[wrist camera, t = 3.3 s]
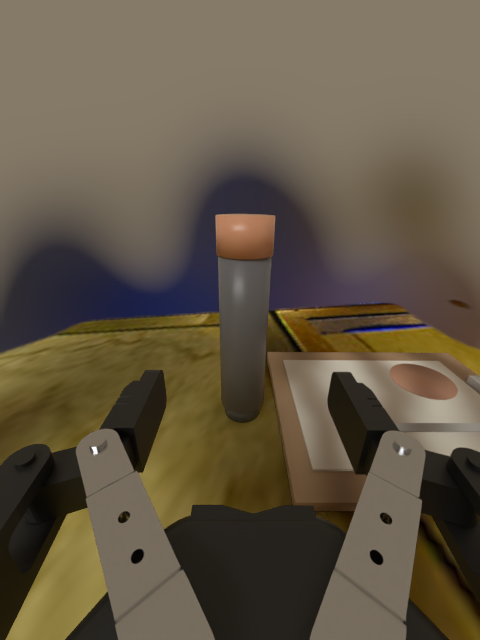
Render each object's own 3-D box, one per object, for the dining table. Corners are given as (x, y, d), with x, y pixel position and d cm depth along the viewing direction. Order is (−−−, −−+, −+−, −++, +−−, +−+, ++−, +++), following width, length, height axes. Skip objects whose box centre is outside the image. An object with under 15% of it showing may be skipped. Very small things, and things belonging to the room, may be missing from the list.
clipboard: (293, 510, 16) (296, 493, 16) (266, 357, 32) (267, 345, 31) (641, 511, 16) (658, 494, 16) (445, 358, 32) (450, 347, 31)
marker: (219, 426, 22) (213, 217, 16) (221, 395, 26) (217, 213, 19) (265, 426, 22) (279, 217, 16) (261, 395, 26) (271, 214, 19)
